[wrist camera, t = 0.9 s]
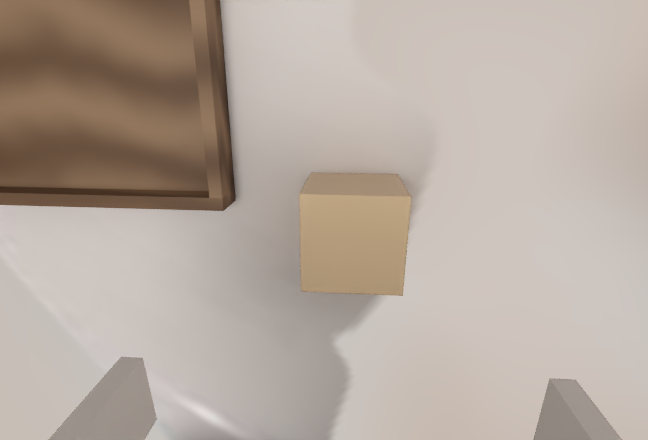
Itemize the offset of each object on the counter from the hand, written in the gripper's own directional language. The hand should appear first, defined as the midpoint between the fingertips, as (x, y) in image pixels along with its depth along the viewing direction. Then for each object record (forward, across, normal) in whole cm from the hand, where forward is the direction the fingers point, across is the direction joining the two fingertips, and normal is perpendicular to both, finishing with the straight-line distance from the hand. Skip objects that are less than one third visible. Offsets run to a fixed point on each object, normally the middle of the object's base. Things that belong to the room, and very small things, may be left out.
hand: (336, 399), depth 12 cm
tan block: (+19, 0, 0) cm, 19 cm away
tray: (+19, +20, -11) cm, 30 cm away
